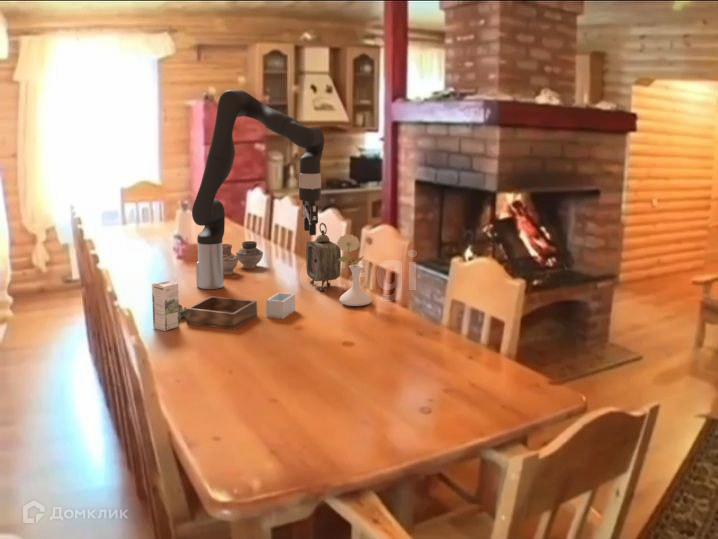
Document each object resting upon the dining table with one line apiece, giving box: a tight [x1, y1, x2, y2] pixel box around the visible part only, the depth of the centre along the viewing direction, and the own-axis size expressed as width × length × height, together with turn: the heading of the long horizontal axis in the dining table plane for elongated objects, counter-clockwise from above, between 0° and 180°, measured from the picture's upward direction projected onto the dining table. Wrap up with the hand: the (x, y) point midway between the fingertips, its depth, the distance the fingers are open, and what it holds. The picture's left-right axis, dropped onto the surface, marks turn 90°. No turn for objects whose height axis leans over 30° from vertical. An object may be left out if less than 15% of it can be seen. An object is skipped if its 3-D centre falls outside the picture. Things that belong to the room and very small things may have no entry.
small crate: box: [265, 292, 296, 320], centre depth 247 cm, size 6×10×6 cm, turn 162°
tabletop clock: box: [305, 222, 342, 292], centre depth 280 cm, size 14×9×25 cm, turn 23°
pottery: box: [222, 240, 264, 276], centre depth 307 cm, size 11×25×12 cm, turn 148°
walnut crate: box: [185, 295, 258, 330], centre depth 239 cm, size 17×16×5 cm
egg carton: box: [179, 303, 187, 321], centre depth 241 cm, size 11×8×4 cm
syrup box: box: [151, 280, 180, 332], centre depth 229 cm, size 6×6×14 cm
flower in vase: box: [336, 234, 373, 307], centre depth 258 cm, size 13×11×25 cm
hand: (309, 232), depth 256 cm, fingers open, 8 cm apart
